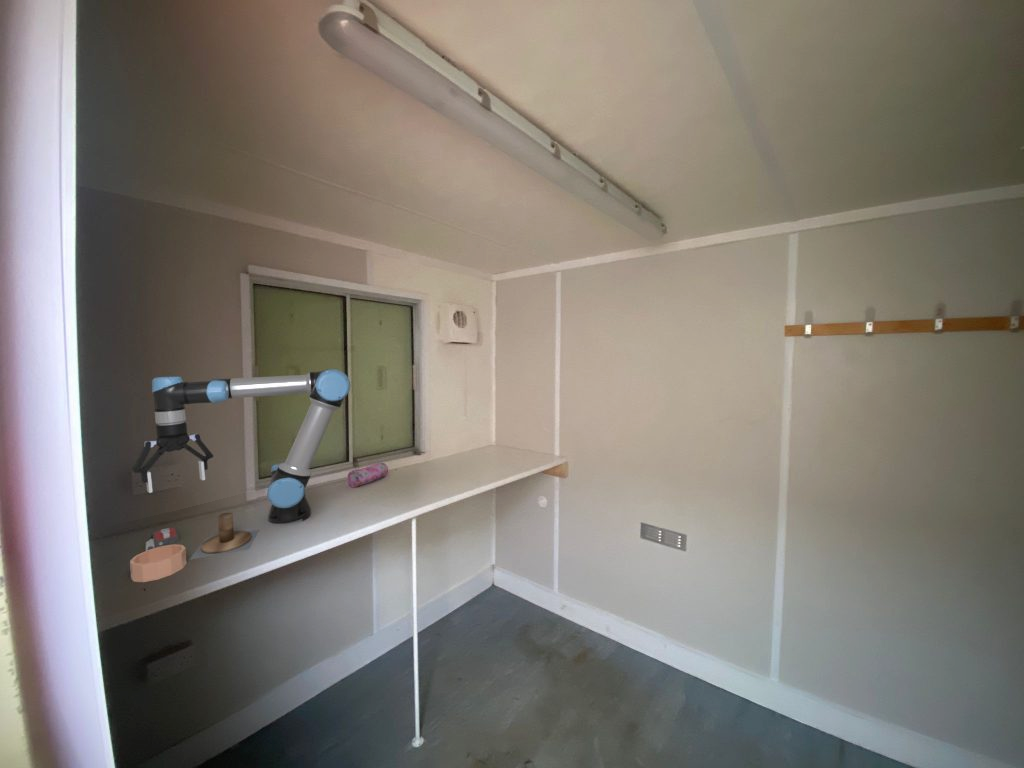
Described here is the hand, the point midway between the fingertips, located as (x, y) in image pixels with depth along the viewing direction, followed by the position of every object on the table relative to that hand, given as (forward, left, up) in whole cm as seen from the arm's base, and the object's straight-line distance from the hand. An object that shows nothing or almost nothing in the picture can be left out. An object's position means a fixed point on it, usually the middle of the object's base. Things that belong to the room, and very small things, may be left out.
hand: (177, 485), depth 126 cm
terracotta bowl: (+1, +14, -23) cm, 27 cm away
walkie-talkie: (+8, -8, -24) cm, 26 cm away
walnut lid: (-13, +2, -22) cm, 26 cm away
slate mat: (-13, +2, -23) cm, 26 cm away
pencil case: (-62, -51, -23) cm, 84 cm away
